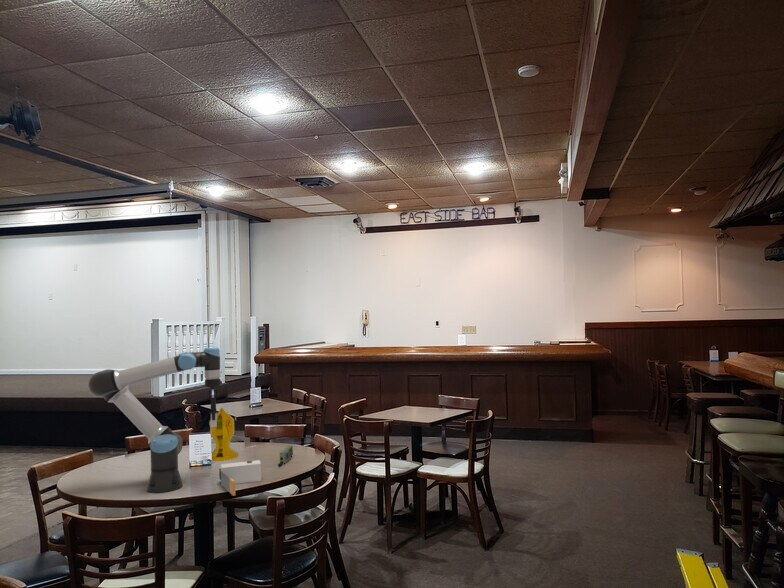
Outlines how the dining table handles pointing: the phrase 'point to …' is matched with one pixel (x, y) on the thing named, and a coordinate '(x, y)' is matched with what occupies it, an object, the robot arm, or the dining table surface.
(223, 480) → the side door
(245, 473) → the camera housing
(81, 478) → the dining table surface
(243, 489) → the dining table surface
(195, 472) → the dining table surface
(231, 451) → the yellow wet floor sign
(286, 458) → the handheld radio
